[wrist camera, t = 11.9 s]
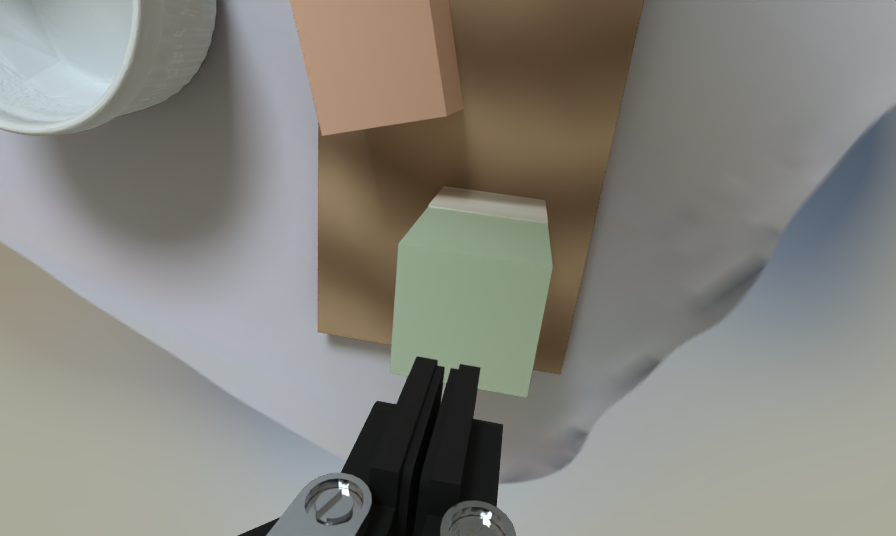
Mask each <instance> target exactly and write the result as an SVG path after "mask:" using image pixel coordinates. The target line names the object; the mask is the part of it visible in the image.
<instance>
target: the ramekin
mask: <svg viewBox="0 0 896 536" xmlns="http://www.w3.org/2000/svg"><path fill="white" fill-rule="evenodd" d="M216 12H217V10H216V0H0V129H1V130H5V131H8V132H13V133H17V134H24V135H35V136H44V135H62V134H71V133H78V132H83V131H86V130H90V129H93V128H95V127H98V126H100V125H102V124H104V123H106V122H108V121H110V120H111V119H113V118H114V117H118V116H122V115H125V114H129V113H133V112H136V111H139V110H143V109H146V108H148V107H151V106H153V105H156V104H159V103H162V102H164V101H166V100H167V99H168V98H169V97H170V96H172V95H175V94H177V93H178V92H179V91H180V90H181V89H182V87H183V86H184V85H186V84H188V83H189V82H190V81H191V79H192V77H193V76H194V75H195V74H196V73H197V72H198V71H199V68H200V66H201V63H202V62H203V61H204V59H205V57H206V55H207V51H208V48H209V46H210V44H211V41H212V34H213V31H214V28H215V17H216Z"/></svg>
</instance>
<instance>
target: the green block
mask: <svg viewBox="0 0 896 536" xmlns="http://www.w3.org/2000/svg"><path fill="white" fill-rule="evenodd" d="M552 269H553V264H552V256H551V247H550V239H549V230H548V224H545V223H538V222H531V221H524V220H517V219H510V218H503V217H496V216H489V215H482V214H475V213H468V212H461V211H454V210H447V209H440V208H433V207H428V208H427V209H426V210H425V211H424V213H423V214H422V215H421V216H420V218H419V219H418V220H417V221H416V222H415V224H414V225H413V226H412V227H411V229H410V230H409V231H408V232H407V234H406V235H405V236H404V237H403V239H402V240H401V241H400V242H399V244H398V258H397V272H396V287H395V301H394V316H393V330H392V345H391V359H390V373H392V374H398V375H403V376H408V375H409V373H410V371H411V368H412V366H413V364H414V361H415V359H416V357H417V356H419V357H424V358H430V359H436V360H438V366H443V367H445V371H444V379H443V383H447V380H448V376H449V373H450V369H451V368H454V369H459V366H460V364H464V365H470V366H475V367H481V369H480V376H479V383H478V389H481V390H486V391H492V392H497V393H503V394H508V395H514V396H519V397H525V398H527V395H528V390H529V385H530V380H531V375H532V370H533V365H534V360H535V355H536V350H537V345H538V340H539V334H540V329H541V324H542V319H543V314H544V309H545V304H546V299H547V294H548V289H549V284H550V279H551V274H552Z"/></svg>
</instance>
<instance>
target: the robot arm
mask: <svg viewBox="0 0 896 536" xmlns="http://www.w3.org/2000/svg"><path fill="white" fill-rule="evenodd" d="M480 369H481V367H475V366H470V365H464V364H460V366H459V369H454V368H451V369H450V373H449V376H448V380H447V384H446V387H445V391H444V394H443V398H442V401H441V396H442V388H443V379H444V371H445V367H443V366H438V360H436V359H430V358H424V357H419V356H417V357H416V359H415V361H414V364H413V366H412V368H411V371H410V373H409V375H408V378H407V380H406V383H405V385H404V387H403V390H402V392H401V395H400V397H399V399H398V402H397V404H391V403H386V402H380V401H377V402H376V403H375V404H374V406H373V408H372V410H371V412H370V414H369V416H368V418H367V420H366V422H365V424H364V426H363V428H362V430H361V432H360V434H359V437H358V439H357V441H356V443H355V445H354V447H353V449H352V451H351V453H350V455H349V457H348V459H347V461H346V463H345V465H344V467H343V469H342V472H341V473H330V474H327V475H323V476H320V477H318V478H316V479H314V480H312V481H311V482H309V483H308V484H307V485H306V486H305V487H304V488H303V489H302V491H301V492H300V493H299V494H298V495H297V497H296V498H295V499H294V501H293V502H292V503H291V504H290V506H289V507H288V508H287V510H286V511H285V512H284V514H283V515H282V516H281V517H280V518H278V519H275V520H273V521H271V522H268V523H266V524H264V525H261V526H259V527H257V528H254V529H252V530H250V531H247V532H245V533H243V534H240V535H238V536H516V533H515V530H514V527H513V524H512V522H511V521H510V520H509V518H508V517H507V515H506V514H505V513H503V512H502V511H501V510H500V509H499V508H497V494H498V482H499V469H500V457H501V444H502V432H503V424H498V423H492V422H487V421H482V420H476V419H473V416H474V409H475V402H476V396H477V389H478V383H479V376H480ZM440 404H441V405H440Z"/></svg>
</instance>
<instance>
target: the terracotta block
mask: <svg viewBox="0 0 896 536" xmlns="http://www.w3.org/2000/svg"><path fill="white" fill-rule="evenodd" d="M290 2H291V6H292V11H293V15H294V19H295V23H296V28H297V32H298V36H299V40H300V44H301V49H302V53H303V57H304V61H305V66H306V70H307V74H308V78H309V83H310V87H311V91H312V95H313V100H314V104H315V108H316V112H317V117H318V121H319V125H320V129H321V134H322V136H324V135H330V134H337V133H343V132H349V131H356V130H362V129H368V128H375V127H381V126H388V125H394V124H400V123H407V122H413V121H419V120H426V119H432V118H438V117H445V116H448V115H451V114H453V113H455V112H457V111H460V110H462V109H464V108H463V101H462V93H461V86H460V79H459V72H458V65H457V58H456V50H455V43H454V36H453V29H452V22H451V15H450V7H449V0H290Z"/></svg>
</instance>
